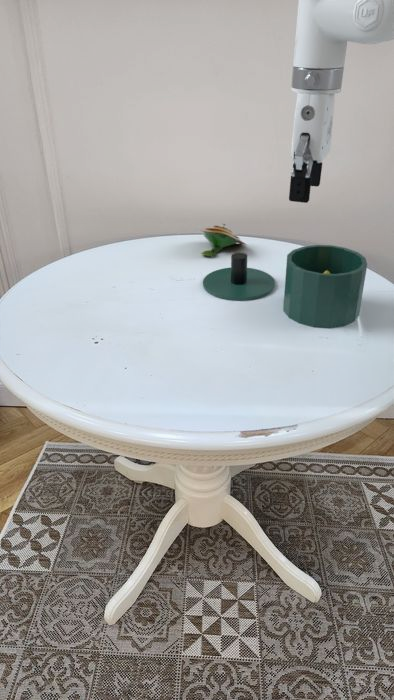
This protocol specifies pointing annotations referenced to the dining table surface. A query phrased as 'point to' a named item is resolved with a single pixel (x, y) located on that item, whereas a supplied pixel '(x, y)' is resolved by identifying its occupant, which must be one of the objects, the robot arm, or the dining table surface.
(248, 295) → the lid
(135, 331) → the dining table surface
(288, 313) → the pot
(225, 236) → the green brown turtle figurine
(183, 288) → the dining table surface
